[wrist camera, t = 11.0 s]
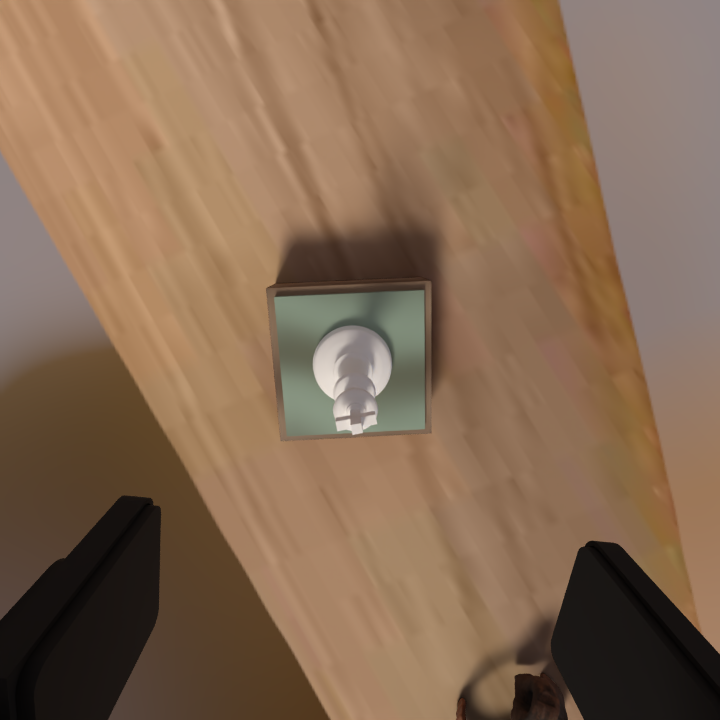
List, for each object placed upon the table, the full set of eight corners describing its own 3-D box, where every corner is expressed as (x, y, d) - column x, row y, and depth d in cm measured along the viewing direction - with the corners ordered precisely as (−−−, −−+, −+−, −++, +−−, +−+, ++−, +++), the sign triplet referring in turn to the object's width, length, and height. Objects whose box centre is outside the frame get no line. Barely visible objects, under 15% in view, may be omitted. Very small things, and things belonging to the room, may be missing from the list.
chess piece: (305, 333, 27) (283, 381, 17) (385, 318, 26) (408, 359, 17) (321, 407, 28) (308, 493, 18) (397, 394, 28) (425, 472, 18)
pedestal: (275, 283, 30) (264, 289, 26) (421, 276, 30) (432, 281, 26) (287, 420, 32) (279, 444, 28) (422, 413, 32) (432, 435, 29)
